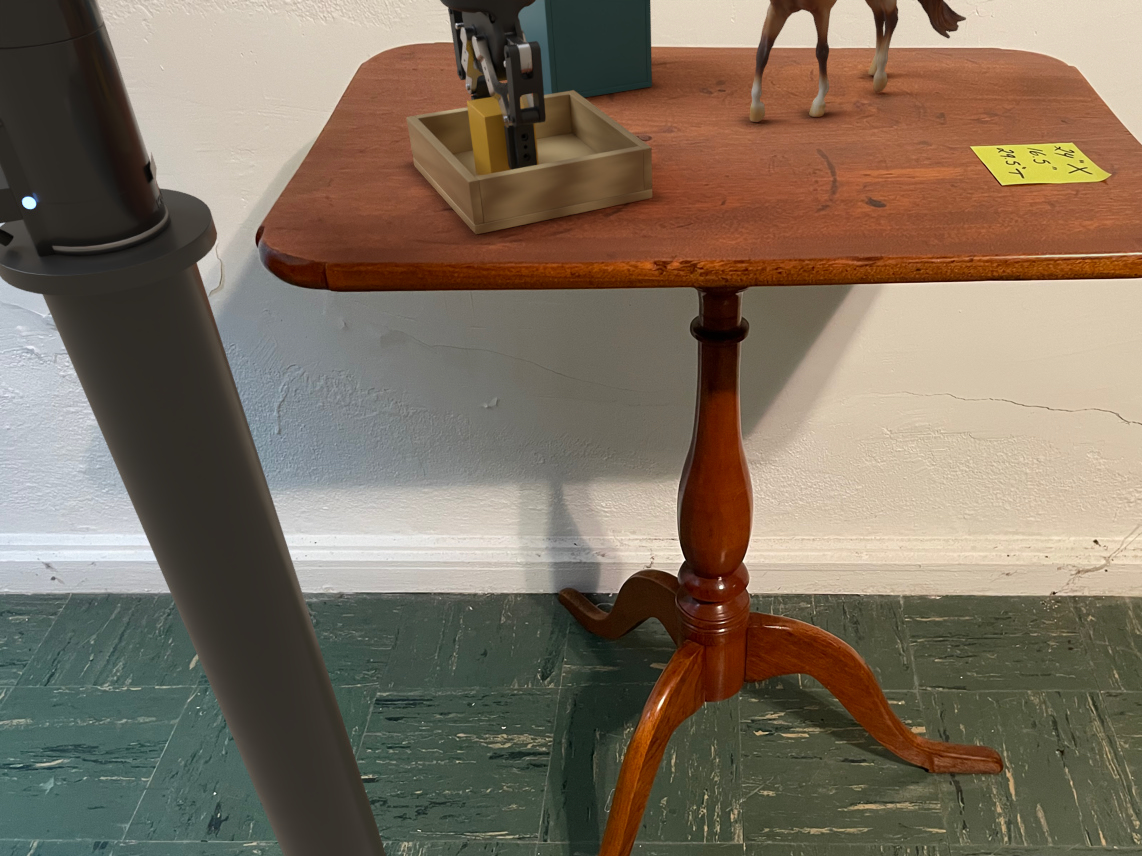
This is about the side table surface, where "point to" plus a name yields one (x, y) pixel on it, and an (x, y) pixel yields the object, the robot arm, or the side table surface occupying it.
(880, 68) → the horse figurine
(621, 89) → the teal upright container
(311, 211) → the side table surface
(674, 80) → the side table surface
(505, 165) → the block
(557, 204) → the box
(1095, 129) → the side table surface
